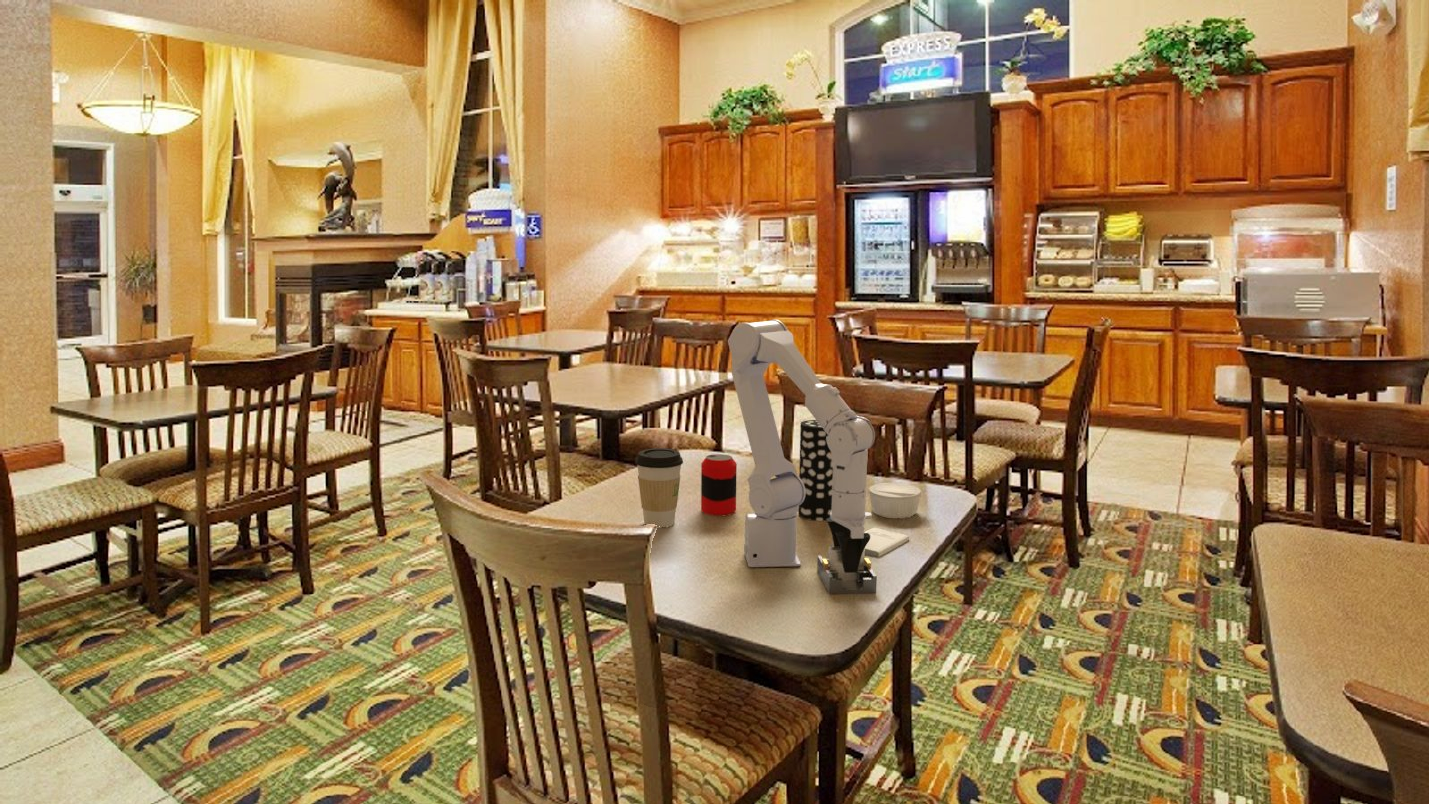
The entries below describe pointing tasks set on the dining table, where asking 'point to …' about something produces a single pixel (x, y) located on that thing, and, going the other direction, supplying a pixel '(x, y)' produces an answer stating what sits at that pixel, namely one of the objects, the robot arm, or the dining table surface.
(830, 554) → the grey flat square block
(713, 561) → the dining table surface
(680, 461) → the coffee cup
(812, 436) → the spotted tube
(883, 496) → the ramekin
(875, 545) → the external hard drive
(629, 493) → the dining table surface
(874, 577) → the rack
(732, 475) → the soda can
